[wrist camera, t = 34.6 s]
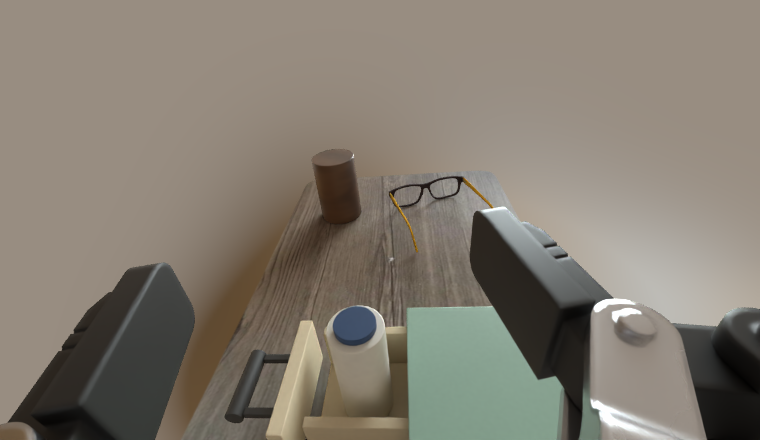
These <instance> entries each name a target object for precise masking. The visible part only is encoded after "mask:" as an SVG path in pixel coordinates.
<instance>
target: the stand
mask: <svg viewBox="0 0 760 440" xmlns="http://www.w3.org/2000/svg"><path fill="white" fill-rule="evenodd" d="M312 165H313V170H314V175H315V180H316V185H317V190H318V194H319V199H320V204H321V209H322V214H323V218H324V219H325V220H326V221H327V222H329V223H333V224H343V223H348V222H351V221H353V220H355V219H356V218H358V217H359V216H360V214H361V205H360V198H359V191H358V183H357V176H356V169H355V161H354V154H353V153H352V152H351V151H349V150H345V149H332V150H327V151H323V152H320V153H318V154H316V155H315V156H314V157H313V158H312Z"/></svg>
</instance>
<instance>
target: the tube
mask: <svg viewBox="0 0 760 440" xmlns="http://www.w3.org/2000/svg"><path fill="white" fill-rule="evenodd" d="M326 338H327V341H328V345H329V349H330V353H331V357H332V360H333V364H334V368H335V372H336V376H337V380H338V383H339V387H340V391H341V395H342V399H343V402H344V406H345V410H346V413H347V415H348V416H349V417H374V418H386V417H387V416H388V415H389V413H390V411H391V409H392V406H393V393H392V384H391V375H390V366H389V358H388V349H387V340H386V331H385V323H384V320H383V318H382V316H381V315H380V314H379V313H378V312H377V311H376V310H374V309H372V308H370V307H366V306H352V307H348V308H345V309H343V310H341V311H339V312H338V313H337V314H335V315H334V316H333V317H332V319H331V320H330V321H329V323H328V326H327V329H326Z"/></svg>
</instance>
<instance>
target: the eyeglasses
mask: <svg viewBox="0 0 760 440" xmlns="http://www.w3.org/2000/svg"><path fill="white" fill-rule="evenodd" d="M448 178H456V179H457V181H458V189H457V192H456V193H454V194H452V195H448V196H444V197H434V196H433V194H432V193H431V190H430V185H431V184H432V183H434V182H436V181H439V180H443V179H448ZM461 182H464V183H465V184H466V185H467V186H468V187H470V188H471V189H472V190H473V191H474V192H475V193H476V194H477V195H478V196H480V197H481V198H482V199H483V200H484V201H485V202H486V203H487V204H488V205H489V206H490V207H491V209H492V208H493V206H492V205H491V204H490V203H489V202H488V201H487V200H486V199H485V198H484V197H483V196H482V195H481V194H480V193H479V192H478V191H477V190H476V189H475V188H474V187H473V186H472V185H471V184H470V183H469V182H468V181H467V180H466V179H465V178H464V177H463V176H449V177H443V178H439V179H436V180H433V181H431V182H429V183H424V184H409V185H404V186H401V187H398V188H396V189H393V190H391V191H389V196H390V198H391V199H392V202H393V204H394V205H395V206H396V207H397V208H398V210H399V212H400V213H401V215H402V216H403V218H404V220H405V221H406V223H407V225H408V227H409V229H410V232H411V235H412V238H413V242H414V246H415V250H416V252H418V249H417V246H416V242H415V239H414V235H413V232H412V229H411V227H410V225H409V223H408V221H407V219H406V217H405V216H404V214H403V212H402V211H401V209H400V207H406V206H411V205H414V204H416V203H418V202H419V200H420V199H421V197H422V195H423V189H424V188H428V190H429V192H430V194H431V195H432V197H433V198H435V199H443V198H447V197H451V196H454V195H456V194H458V192H459V190H460V185H461ZM409 186H420V187H421V193H420V196H419V199H418V200H417V201H416V202H414V203H412V204H408V205H402V206H398V204H397V202H396V201H395V199H394V193H395V191H397V190H398V189H401V188H404V187H409Z"/></svg>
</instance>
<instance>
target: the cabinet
mask: <svg viewBox="0 0 760 440" xmlns="http://www.w3.org/2000/svg"><path fill="white" fill-rule="evenodd" d="M407 368H408V430H409V440H557V430H558V417H559V404H560V393H561V389H562V387H563V386H562V385H561V383H560V382H559V380H558V379H557V377H556V376H554V377H550V378H545V379H541V380H538V379H537V378H536V376H535V374H534V373H533V371H532V369H531V368H530V366H529V365H528V363H527V361H526V360H525V358H524V356H523V355H522V353H521V351H520V350H519V348H518V346H517V345H516V343H515V342H514V340H513V338H512V337H511V335H510V333H509V332H508V330H507V328H506V327H505V325H504V324H503V322H502V320H501V319H500V317H499V315H498V314H497V312H496V310H495V309H494V307H441V308H407Z"/></svg>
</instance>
